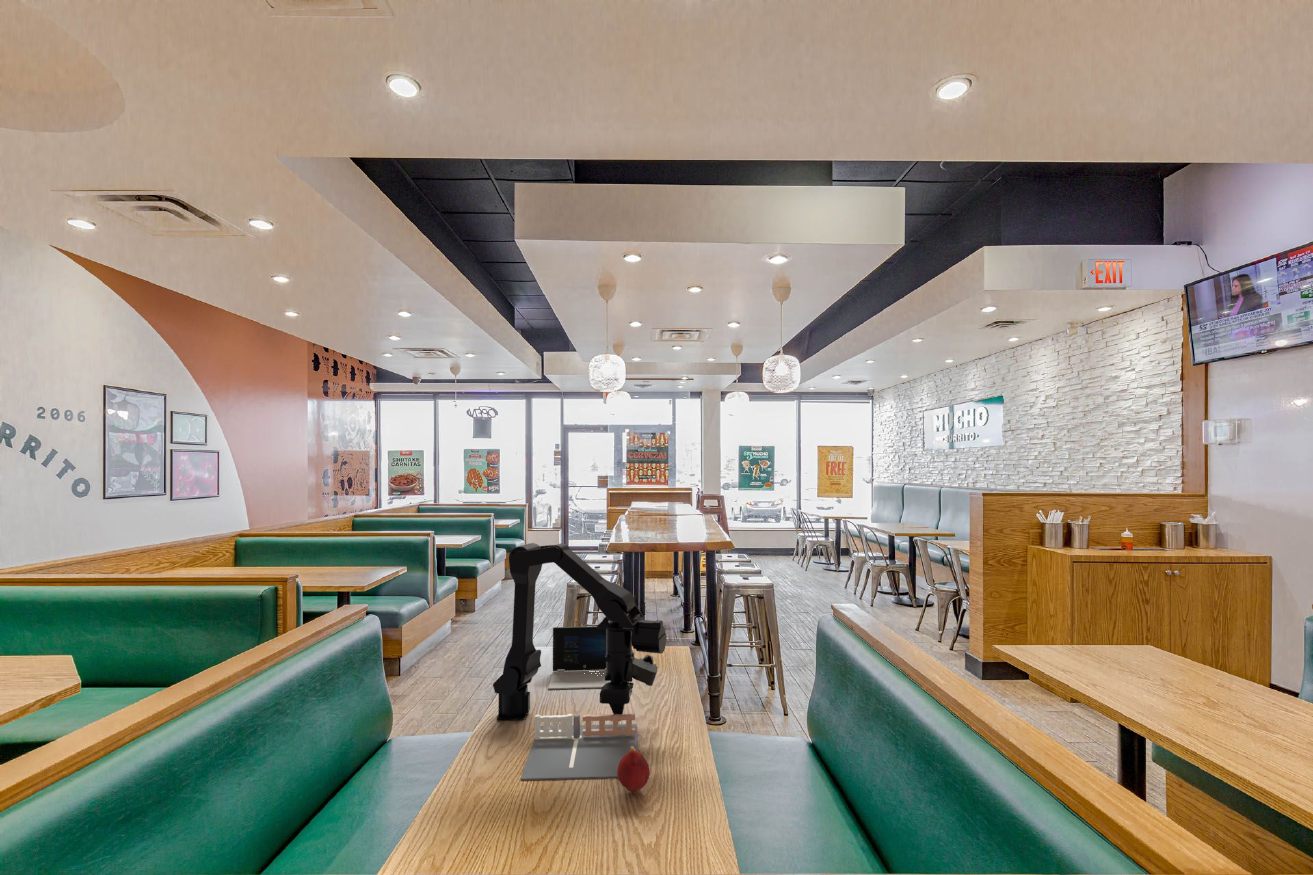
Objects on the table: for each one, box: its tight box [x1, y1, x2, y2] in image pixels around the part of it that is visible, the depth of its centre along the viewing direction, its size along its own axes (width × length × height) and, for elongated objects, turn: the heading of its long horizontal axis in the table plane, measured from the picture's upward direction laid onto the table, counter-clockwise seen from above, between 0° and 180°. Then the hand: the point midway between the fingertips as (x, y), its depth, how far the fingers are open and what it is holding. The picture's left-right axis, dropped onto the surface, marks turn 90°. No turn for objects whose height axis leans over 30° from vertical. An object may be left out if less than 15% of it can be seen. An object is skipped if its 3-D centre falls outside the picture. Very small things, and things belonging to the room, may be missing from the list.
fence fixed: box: [534, 713, 573, 740], centre depth 127 cm, size 8×1×5 cm, turn 93°
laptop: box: [547, 625, 610, 690], centre depth 161 cm, size 18×12×13 cm
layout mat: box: [520, 723, 639, 781], centre depth 122 cm, size 22×22×1 cm
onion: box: [617, 746, 651, 794], centre depth 107 cm, size 6×6×8 cm
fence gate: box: [572, 713, 636, 738], centre depth 127 cm, size 13×1×4 cm, turn 93°
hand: (619, 720), depth 131 cm, fingers closed
